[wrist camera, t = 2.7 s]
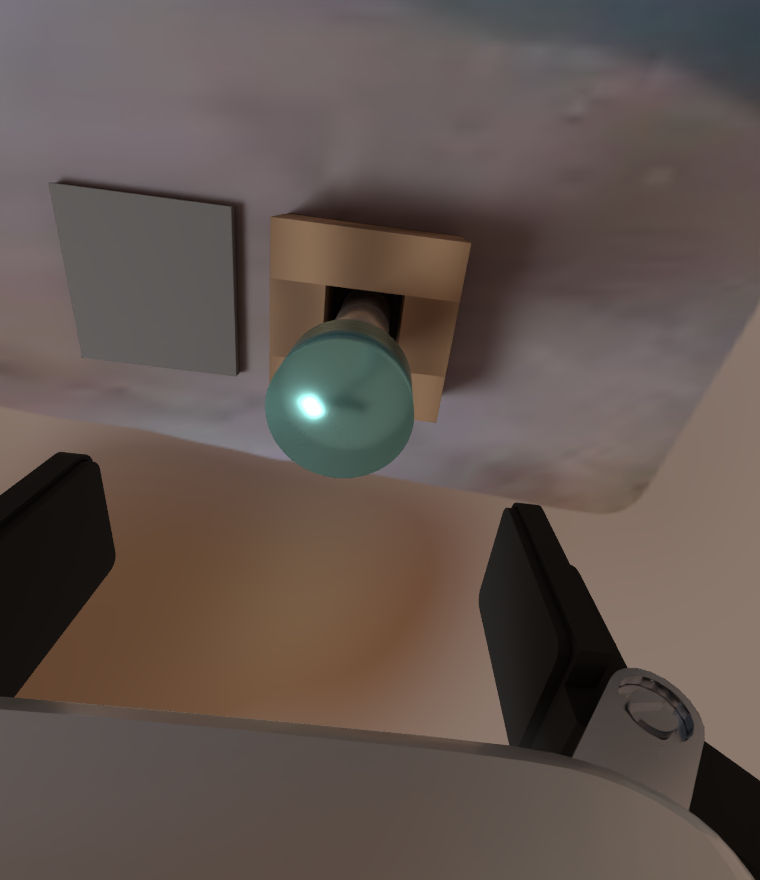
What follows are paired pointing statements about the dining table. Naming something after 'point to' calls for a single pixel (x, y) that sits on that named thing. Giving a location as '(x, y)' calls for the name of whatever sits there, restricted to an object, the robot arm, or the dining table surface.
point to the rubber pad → (150, 278)
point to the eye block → (369, 288)
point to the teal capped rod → (344, 393)
